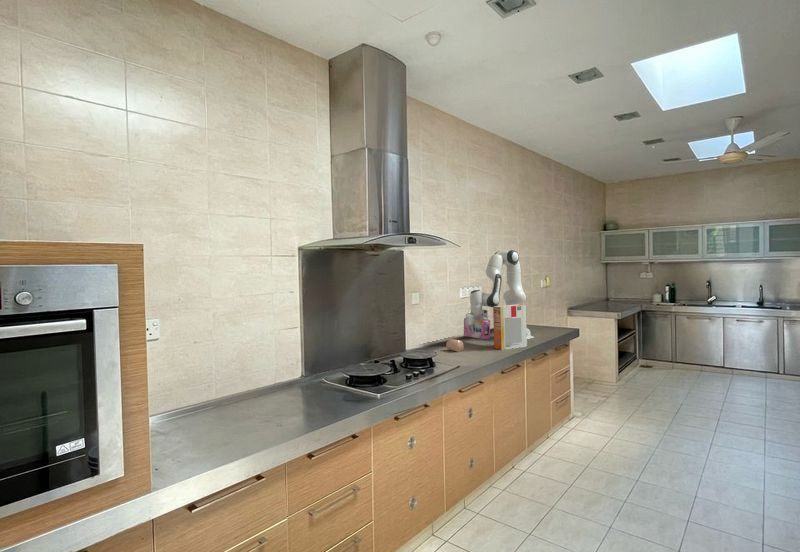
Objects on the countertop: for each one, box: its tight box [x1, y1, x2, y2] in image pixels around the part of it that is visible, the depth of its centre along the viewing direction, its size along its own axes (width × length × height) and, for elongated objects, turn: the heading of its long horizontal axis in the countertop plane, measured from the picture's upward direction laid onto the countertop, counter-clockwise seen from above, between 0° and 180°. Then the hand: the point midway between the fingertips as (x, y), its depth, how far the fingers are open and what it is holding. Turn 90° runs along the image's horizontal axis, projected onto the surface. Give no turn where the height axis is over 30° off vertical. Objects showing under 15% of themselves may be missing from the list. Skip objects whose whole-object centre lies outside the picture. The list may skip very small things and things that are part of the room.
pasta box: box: [492, 304, 528, 351], centre depth 307 cm, size 23×8×30 cm, turn 116°
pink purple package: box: [463, 317, 491, 340], centre depth 322 cm, size 24×8×14 cm, turn 28°
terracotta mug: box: [446, 338, 465, 353], centre depth 302 cm, size 10×8×9 cm
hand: (477, 329), depth 322 cm, fingers closed on pink purple package, 7 cm apart
